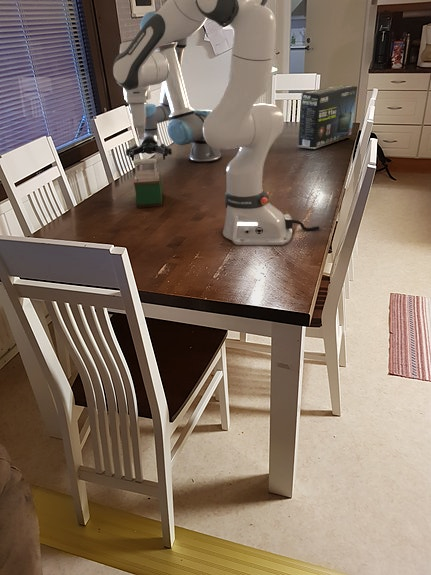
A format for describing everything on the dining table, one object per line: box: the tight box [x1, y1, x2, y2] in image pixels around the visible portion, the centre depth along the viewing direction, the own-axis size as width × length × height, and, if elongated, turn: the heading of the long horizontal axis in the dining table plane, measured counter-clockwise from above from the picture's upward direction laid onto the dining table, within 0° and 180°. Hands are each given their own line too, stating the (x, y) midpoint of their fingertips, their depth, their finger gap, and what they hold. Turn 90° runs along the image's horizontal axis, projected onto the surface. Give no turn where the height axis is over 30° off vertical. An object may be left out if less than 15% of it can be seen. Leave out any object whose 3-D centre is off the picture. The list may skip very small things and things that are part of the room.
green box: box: [134, 175, 163, 209], centre depth 177 cm, size 14×9×9 cm
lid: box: [133, 158, 161, 186], centre depth 172 cm, size 14×9×8 cm, turn 5°
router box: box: [297, 84, 358, 151], centre depth 238 cm, size 36×11×27 cm, turn 134°
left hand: (148, 157), depth 198 cm, fingers open, 13 cm apart
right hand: (142, 135), depth 162 cm, fingers open, 8 cm apart
